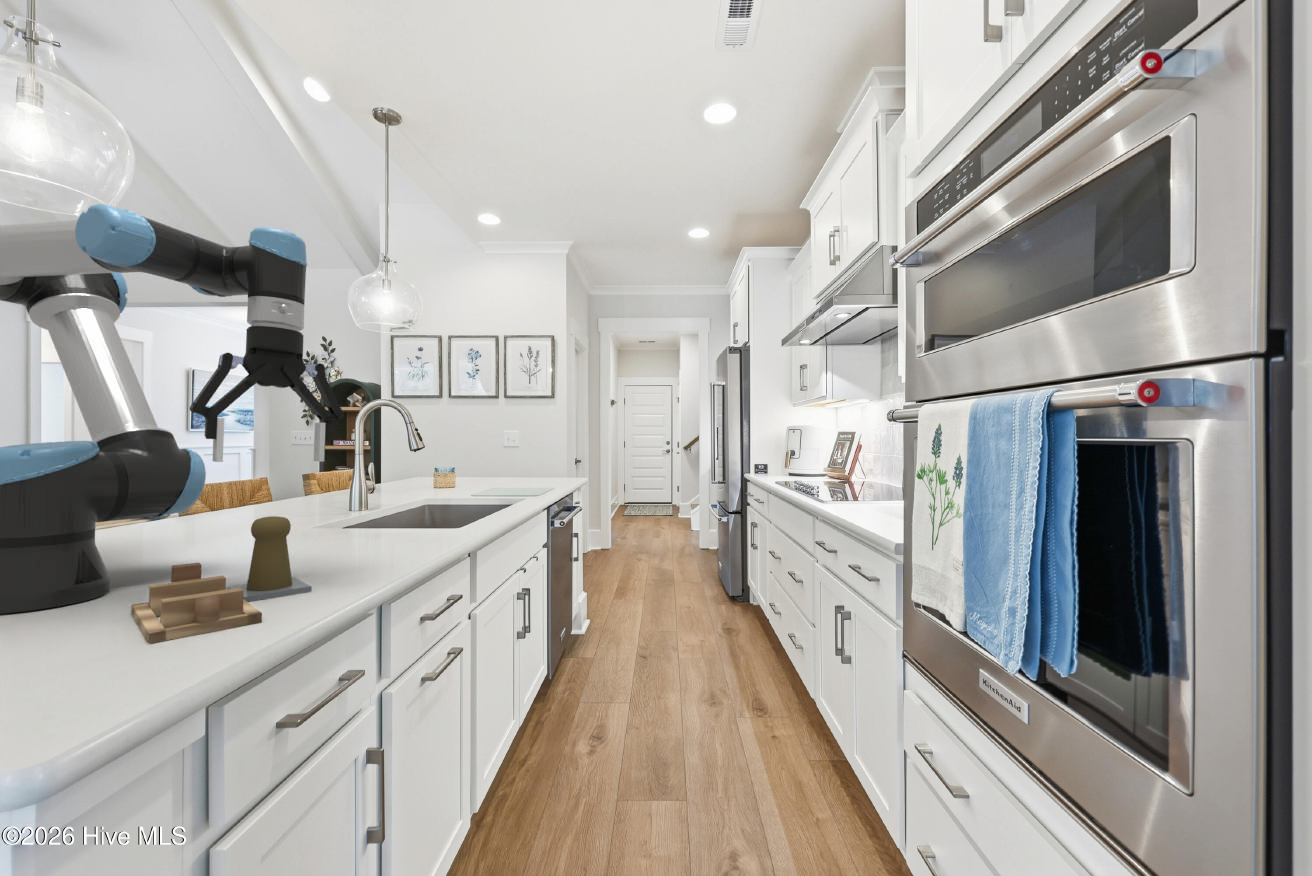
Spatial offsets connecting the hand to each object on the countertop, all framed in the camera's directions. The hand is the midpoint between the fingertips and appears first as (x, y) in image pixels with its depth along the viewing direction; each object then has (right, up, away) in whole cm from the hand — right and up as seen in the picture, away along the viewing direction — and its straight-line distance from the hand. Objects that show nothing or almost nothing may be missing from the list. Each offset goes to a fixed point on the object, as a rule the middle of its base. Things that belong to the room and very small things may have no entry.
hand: (271, 461), depth 88 cm
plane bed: (0, -20, -14) cm, 25 cm away
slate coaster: (0, -21, 0) cm, 21 cm away
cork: (0, -20, 0) cm, 20 cm away
